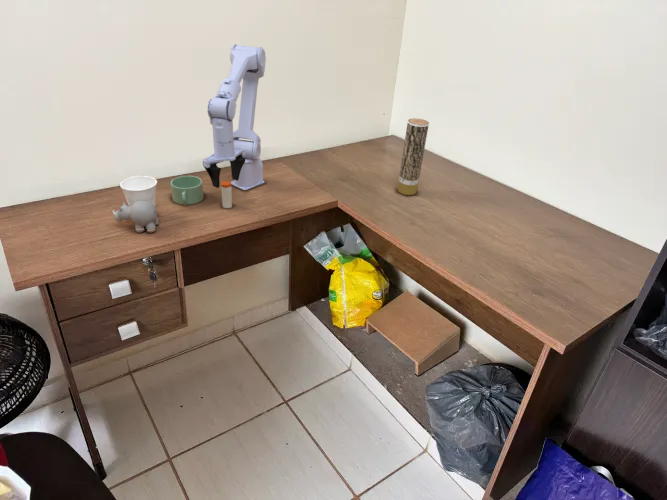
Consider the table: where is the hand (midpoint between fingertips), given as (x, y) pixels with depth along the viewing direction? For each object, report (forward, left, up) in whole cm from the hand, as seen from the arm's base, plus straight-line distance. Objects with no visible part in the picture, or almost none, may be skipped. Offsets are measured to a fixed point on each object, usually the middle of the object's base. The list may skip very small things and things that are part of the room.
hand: (226, 183), depth 146 cm
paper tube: (-51, +35, -8) cm, 62 cm away
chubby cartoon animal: (+26, -7, -8) cm, 29 cm away
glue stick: (0, 0, -8) cm, 8 cm away
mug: (+6, -12, -8) cm, 16 cm away
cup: (+22, -12, -8) cm, 26 cm away
